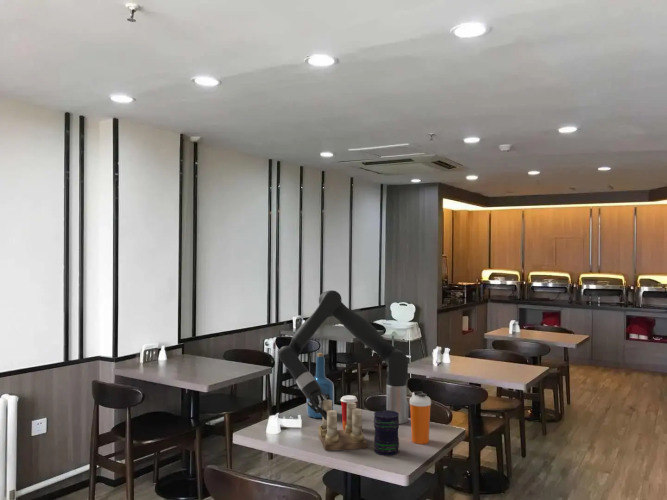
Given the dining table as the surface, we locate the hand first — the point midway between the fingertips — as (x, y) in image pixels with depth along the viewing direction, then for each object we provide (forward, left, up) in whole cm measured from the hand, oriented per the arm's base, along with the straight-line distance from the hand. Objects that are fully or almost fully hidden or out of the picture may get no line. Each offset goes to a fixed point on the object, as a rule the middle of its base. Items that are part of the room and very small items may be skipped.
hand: (331, 417), depth 231 cm
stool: (-3, +5, -9) cm, 11 cm away
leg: (+1, -2, -5) cm, 6 cm away
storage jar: (-14, +22, -10) cm, 28 cm away
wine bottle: (-11, -35, -10) cm, 38 cm away
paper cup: (-14, -10, -10) cm, 20 cm away
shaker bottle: (-33, +18, -10) cm, 38 cm away
